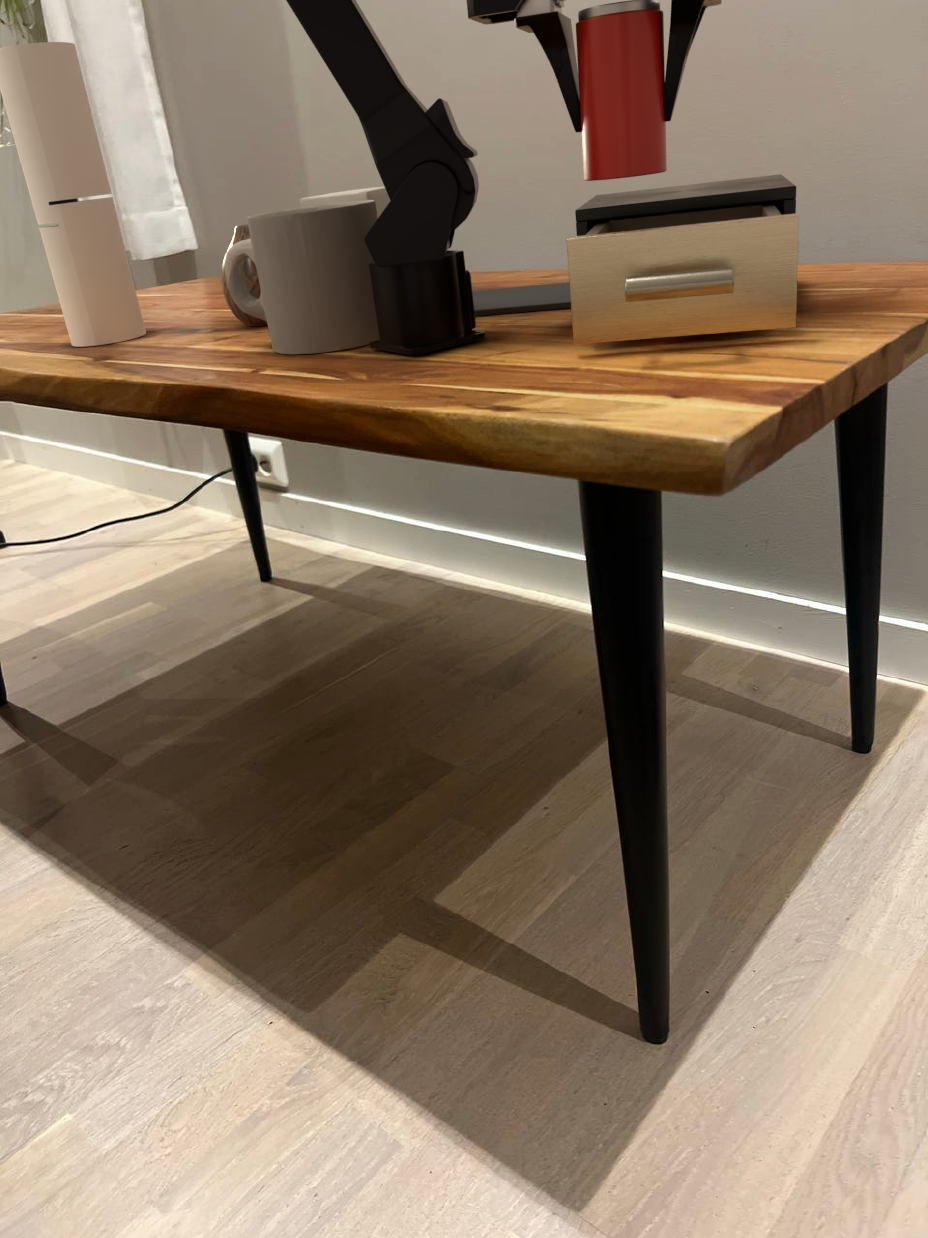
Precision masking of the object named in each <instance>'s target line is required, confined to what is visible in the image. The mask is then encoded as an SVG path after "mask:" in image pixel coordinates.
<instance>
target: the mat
mask: <svg viewBox="0 0 928 1238" xmlns="http://www.w3.org/2000/svg"><path fill="white" fill-rule="evenodd" d="M472 292H473V301H474V311H475V317H481V316H482V317H484V316H493V315H494V316H495V315H505V314H516V313H528V312H540V311H551V310H553V311H554V310H564V309H571V298H570V284H569V281H567V282H565V281H564V282H556V283H555V282H554V283H545V284H535V285H523V286H513V287H511V286H510V287H503V288H502V287H501V288H493V289H492V288H490V289H480V290H472Z"/></svg>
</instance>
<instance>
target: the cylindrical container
mask: <svg viewBox="0 0 928 1238" xmlns="http://www.w3.org/2000/svg"><path fill="white" fill-rule="evenodd" d="M0 95H1V99H2V101H3V105H4V108H5V113H6V116H7V120H8V122H9V126H10V130H11V133H12V137H13V141H14V144H15V147H16V148H15V149H16V151H17V155H18V158H19V162H20V166H21V169H22V173H23V175H24V176H23V177H24V180H25V183H26V187H27V190H28V194H29V198H30V201H31V205H32V209H33V212H34V215H35V219H36V222H37V225H38V226H40V225H48V226H41V227H38V230H39V232H40V233H39V234H40V237H41V241H42V244H43V248H44V251H45V254H46V258H47V262H48V265H49V269H50V272H51V276H52V280H53V283H54V287H55V291H56V294H57V299H58V301H59V305H60V310H61V312H62V315H63V320H64V323H65V326H66V331H67V333H68V337H69V341H70V345H71V347H77V348H79V347H81V348H82V347H83V348H84V347H94V346H103V345H109V344H115V343H120V342H125V341H129V340H134V339H137V338H139V337H142V336H145V335H146V334H147V330H146V327H145V322H144V319H143V314H142V310H141V306H140V302H139V298H138V295H137V291H136V286H135V282H134V278H133V274H132V270H131V265H130V262H129V258H128V253H127V249H126V246H125V242H124V238H123V235H122V230H121V226H120V221H119V218H118V213H117V209H116V205H115V201H114V197H113V196H109V197H101V198H94V199H93V198H92V199H85V200H79V199H83V198H89V197H90V198H91V197H98V196H106V195H112V189H111V184H110V180H109V177H108V172H107V168H106V165H105V164H106V163H105V160H104V156H103V153H102V152H103V151H102V149H101V144H100V141H99V136H98V133H97V128H96V125H95V124H96V123H95V121H94V117H93V112H92V108H91V104H90V99H89V96H88V92H87V88H86V83H85V80H84V74H83V72H82V67H81V63H80V59H79V55H78V50H77V47H76V43H73V42H67V41H43V42H41V41H40V42H30V43H29V42H28V43H20V44H13V45H7V46H1V47H0ZM50 224H54V225H50Z"/></svg>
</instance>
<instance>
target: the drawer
mask: <svg viewBox="0 0 928 1238" xmlns="http://www.w3.org/2000/svg"><path fill="white" fill-rule="evenodd" d="M799 227H800V214H798V213H797V212H796V214H786V215H781V213H780V212H779V211H778V209H777V208H776V207H775V205H774V204H773V203H772V202H770V203H760V204H751V205H742V206H732V207H723V208H713V209H704V210H695V211H685V212H676V213H667V214H657V215H648V216H639V217H629V218H620V219H611V220H601V221H599V222H598V223H597V224H596V225H595V226H594V227H593V228H592V229H591V230H590V231H589V232H588V233H587V234H586V235H584V236H577V235H575V236H569V237H567V238H566V253H567V267H568V282H569V284H570V298H571V308H570V312H571V325H572V327H571V328H572V340H573V345H582V344H583V345H584V344H596V343H610V342H623V341H624V342H625V341H635V340H650V339H663V338H674V337H689V336H699V335H700V336H701V335H712V334H713V335H714V334H726V333H727V334H728V333H741V332H752V331H753V332H754V331H765V330H777V329H791V328H796V327H797V307H798V305H797V304H798V302H797V301H798V267H799V265H798V263H799V233H800V232H799V231H800V229H799Z"/></svg>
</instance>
